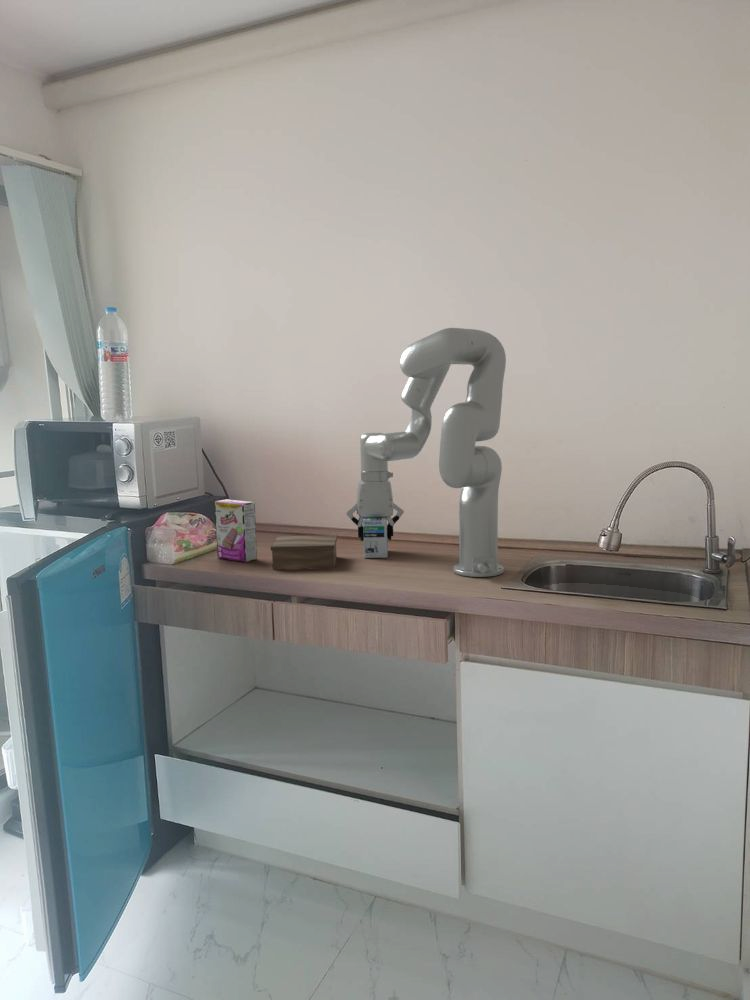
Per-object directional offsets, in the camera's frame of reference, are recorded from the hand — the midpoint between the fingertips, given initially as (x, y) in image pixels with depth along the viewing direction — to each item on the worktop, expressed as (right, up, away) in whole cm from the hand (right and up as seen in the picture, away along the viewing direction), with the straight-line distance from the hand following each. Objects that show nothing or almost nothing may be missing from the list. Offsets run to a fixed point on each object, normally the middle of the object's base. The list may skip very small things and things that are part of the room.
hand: (375, 539), depth 207 cm
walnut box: (-19, -6, -9) cm, 22 cm away
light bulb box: (0, -5, +1) cm, 5 cm away
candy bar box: (-39, -6, -2) cm, 39 cm away
